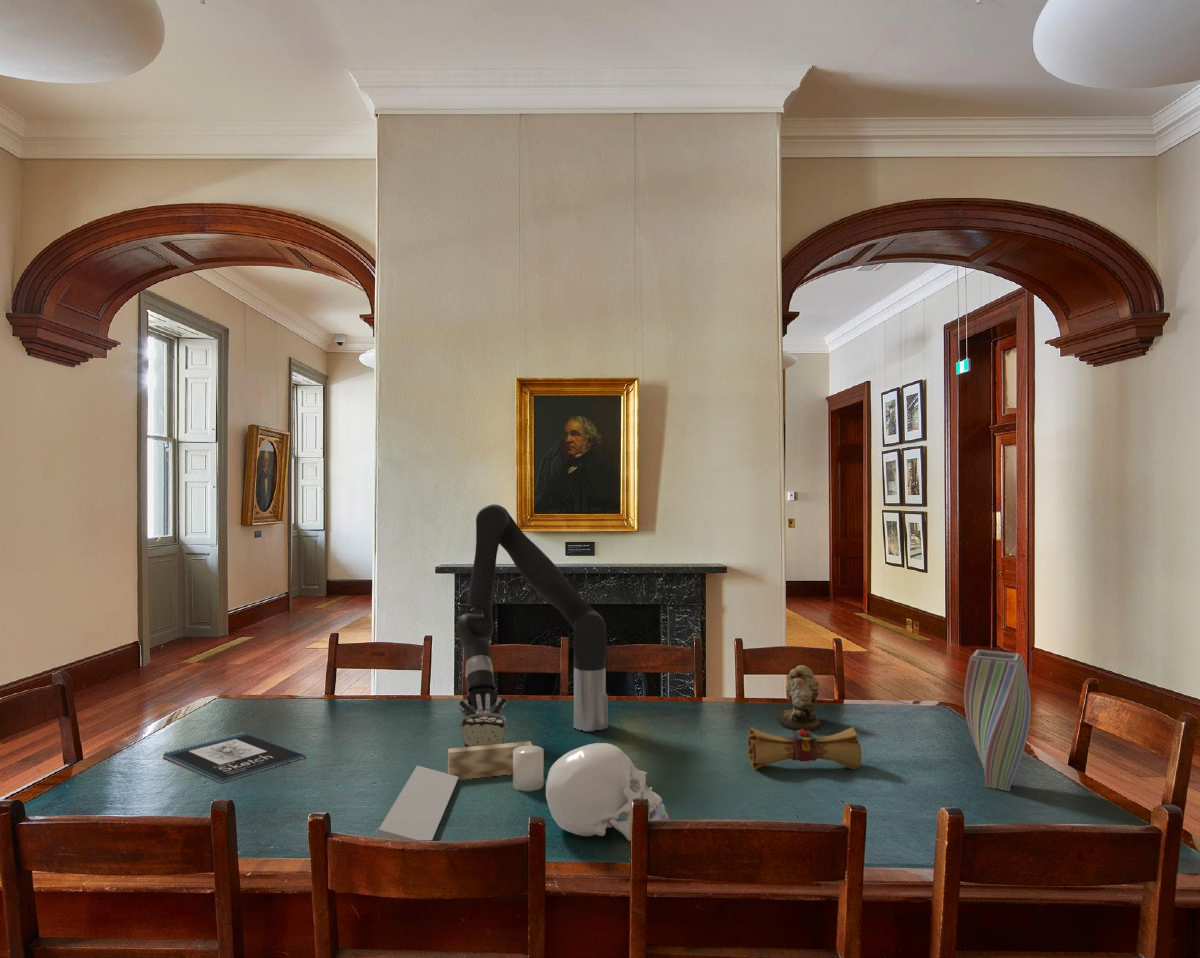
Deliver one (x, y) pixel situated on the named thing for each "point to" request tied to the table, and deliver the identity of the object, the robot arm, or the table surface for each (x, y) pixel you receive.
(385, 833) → the grey long flat block
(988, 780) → the vase
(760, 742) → the scroll
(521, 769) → the glossy white cylinder
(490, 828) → the table surface
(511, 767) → the light wooden block
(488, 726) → the food container
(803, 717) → the stone bust statue
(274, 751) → the sketchbook
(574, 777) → the white human skull
